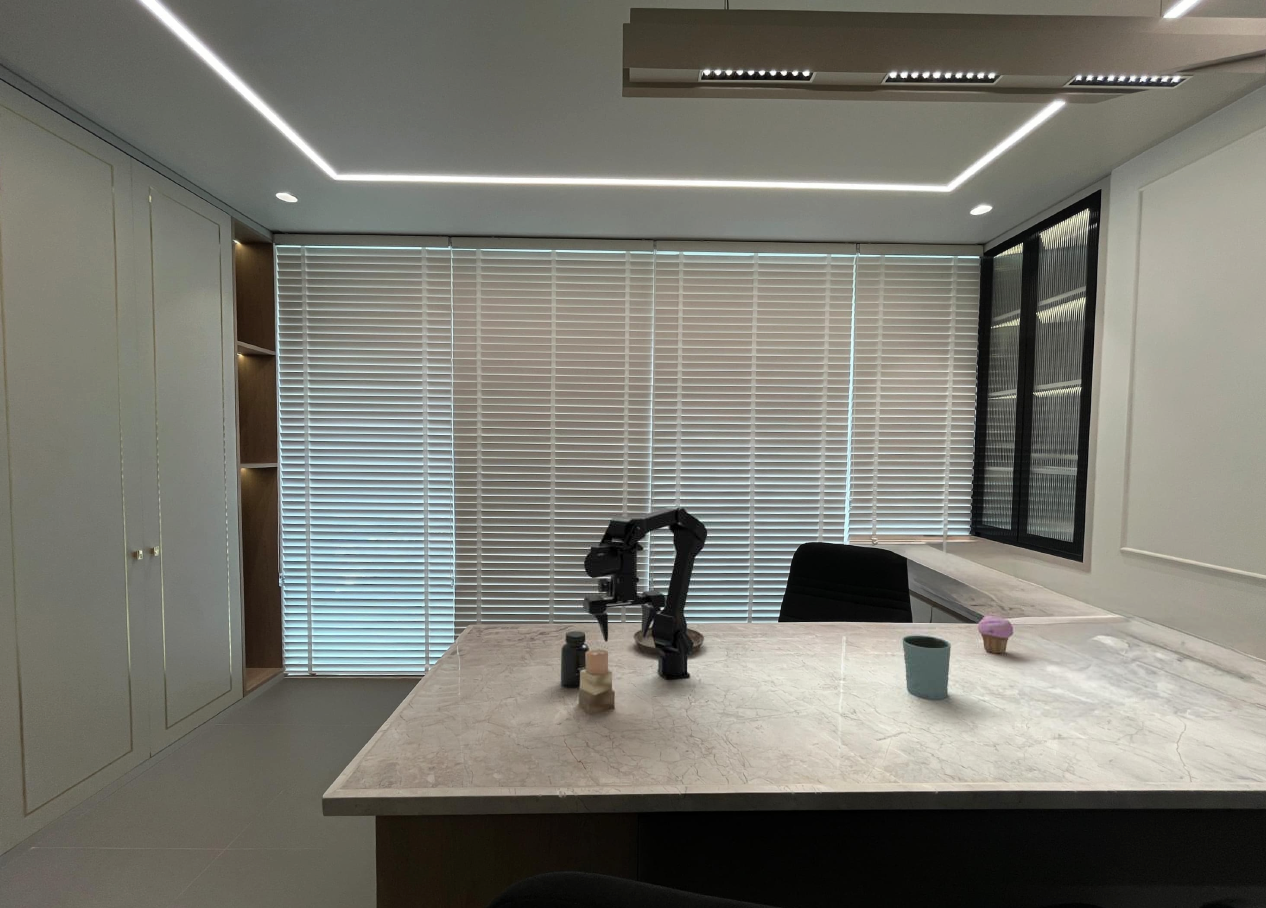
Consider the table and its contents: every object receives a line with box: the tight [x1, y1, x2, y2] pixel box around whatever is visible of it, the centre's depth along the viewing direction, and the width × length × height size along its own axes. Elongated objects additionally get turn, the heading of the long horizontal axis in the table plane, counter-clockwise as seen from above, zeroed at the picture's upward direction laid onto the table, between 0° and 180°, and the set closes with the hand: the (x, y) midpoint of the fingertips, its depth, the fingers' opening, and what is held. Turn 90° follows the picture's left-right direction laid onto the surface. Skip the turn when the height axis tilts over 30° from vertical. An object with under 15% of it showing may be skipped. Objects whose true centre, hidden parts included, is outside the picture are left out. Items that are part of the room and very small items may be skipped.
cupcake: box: [977, 615, 1014, 654], centre depth 169 cm, size 9×9×10 cm
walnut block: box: [578, 687, 616, 715], centre depth 130 cm, size 6×6×4 cm
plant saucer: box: [633, 626, 705, 656], centre depth 172 cm, size 21×21×3 cm
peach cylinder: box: [585, 648, 609, 675], centre depth 130 cm, size 5×5×4 cm
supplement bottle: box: [560, 630, 590, 689], centre depth 144 cm, size 7×7×12 cm
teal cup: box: [901, 634, 952, 701], centre depth 139 cm, size 10×10×12 cm
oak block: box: [580, 669, 613, 695], centre depth 130 cm, size 5×5×4 cm
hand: (624, 638), depth 137 cm, fingers open, 9 cm apart
